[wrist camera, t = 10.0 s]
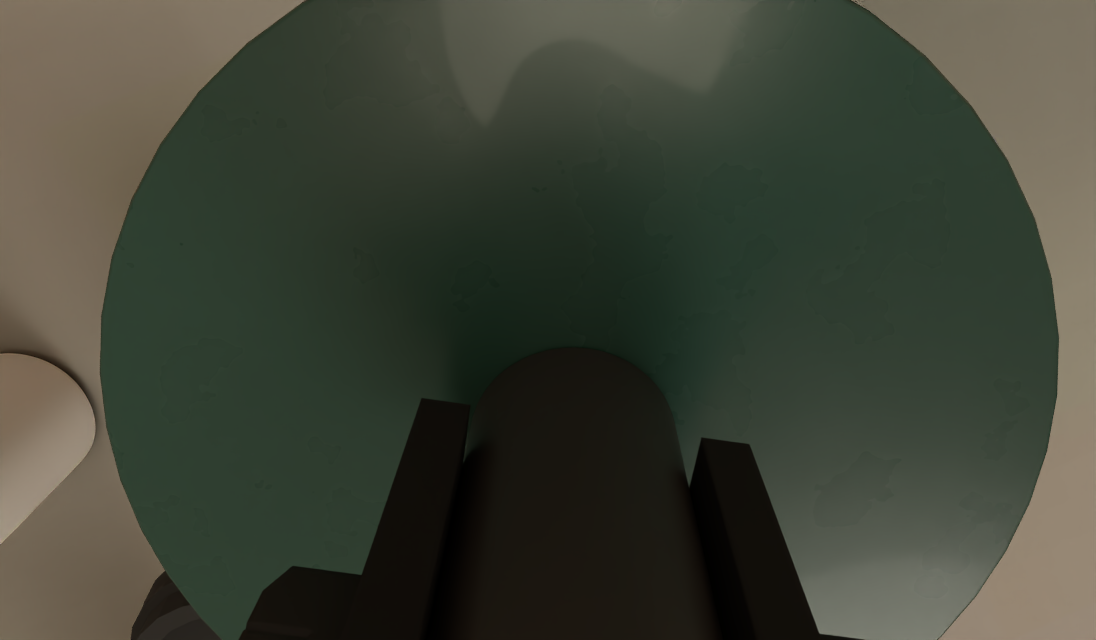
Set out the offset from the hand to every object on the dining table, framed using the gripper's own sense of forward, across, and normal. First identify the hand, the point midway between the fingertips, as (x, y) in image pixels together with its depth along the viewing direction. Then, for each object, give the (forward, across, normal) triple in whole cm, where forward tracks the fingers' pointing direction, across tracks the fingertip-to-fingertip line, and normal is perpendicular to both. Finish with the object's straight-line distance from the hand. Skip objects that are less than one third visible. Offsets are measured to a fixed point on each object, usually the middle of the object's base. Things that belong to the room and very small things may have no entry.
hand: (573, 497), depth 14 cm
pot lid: (+2, 0, 0) cm, 2 cm away
